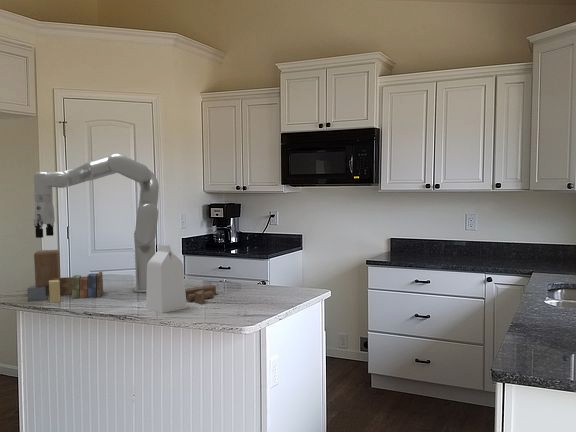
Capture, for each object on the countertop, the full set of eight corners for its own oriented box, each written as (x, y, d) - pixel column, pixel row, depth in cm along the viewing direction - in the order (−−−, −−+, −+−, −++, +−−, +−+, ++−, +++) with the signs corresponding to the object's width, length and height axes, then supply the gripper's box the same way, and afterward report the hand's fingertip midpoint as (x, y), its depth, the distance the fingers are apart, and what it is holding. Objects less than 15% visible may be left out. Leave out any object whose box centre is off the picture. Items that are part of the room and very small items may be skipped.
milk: (146, 308, 223) (143, 245, 222) (170, 303, 231) (168, 242, 230) (161, 313, 215) (159, 247, 213) (186, 308, 223) (184, 244, 221)
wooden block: (35, 295, 257) (33, 252, 255) (39, 291, 266) (37, 250, 265) (58, 293, 259) (56, 251, 258) (61, 289, 269) (59, 249, 268)
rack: (103, 292, 260) (102, 271, 259) (99, 297, 249) (99, 275, 248) (53, 295, 255) (52, 273, 255) (48, 300, 244) (47, 277, 244)
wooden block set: (178, 287, 240) (213, 282, 252) (178, 300, 241) (213, 294, 252) (199, 292, 228) (234, 286, 239) (199, 306, 228) (234, 299, 240)
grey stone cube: (49, 297, 250) (48, 284, 250) (45, 300, 244) (45, 287, 244) (31, 298, 249) (30, 285, 248) (27, 301, 243) (27, 288, 242)
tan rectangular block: (59, 299, 245) (58, 279, 245) (60, 301, 240) (59, 281, 239) (49, 300, 243) (48, 280, 243) (50, 302, 238) (49, 282, 238)
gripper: (42, 199, 240) (43, 238, 241) (60, 198, 257) (61, 235, 258) (25, 199, 240) (26, 238, 241) (44, 198, 257) (45, 235, 258)
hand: (44, 236), depth 249 cm, fingers open, 9 cm apart
